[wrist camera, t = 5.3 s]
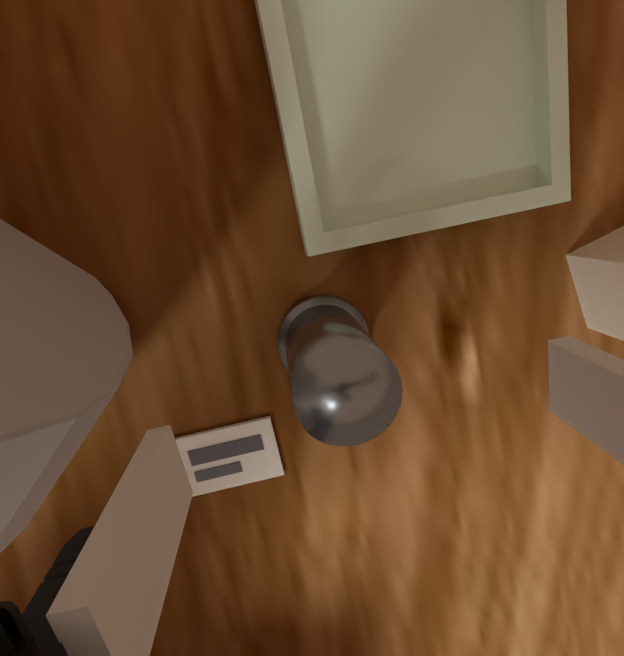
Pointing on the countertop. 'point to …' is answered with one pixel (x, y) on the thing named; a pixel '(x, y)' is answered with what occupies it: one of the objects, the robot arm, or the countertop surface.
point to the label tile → (230, 455)
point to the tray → (417, 112)
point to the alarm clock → (50, 370)
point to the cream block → (601, 282)
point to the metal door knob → (337, 372)
